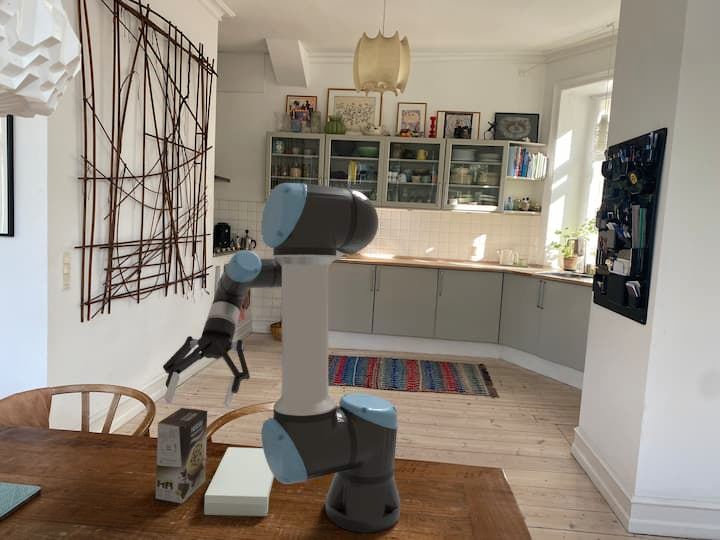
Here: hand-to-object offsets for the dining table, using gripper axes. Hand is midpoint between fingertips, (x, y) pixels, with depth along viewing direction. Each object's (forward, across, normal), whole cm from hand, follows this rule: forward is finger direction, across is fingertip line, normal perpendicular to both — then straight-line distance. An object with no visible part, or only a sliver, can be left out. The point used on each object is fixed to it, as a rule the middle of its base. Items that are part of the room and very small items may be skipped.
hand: (197, 403), depth 108 cm
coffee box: (+17, 0, -5) cm, 18 cm away
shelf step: (+15, -13, -7) cm, 21 cm away
